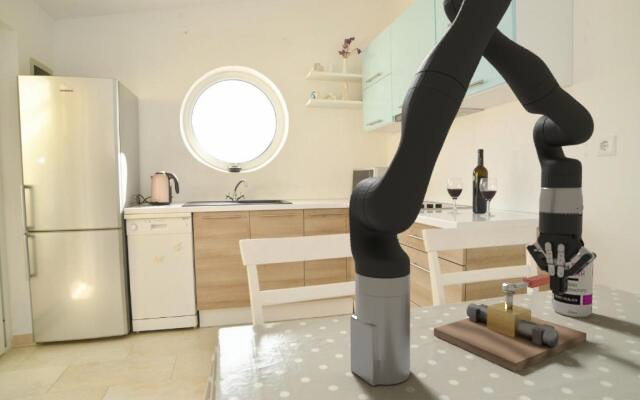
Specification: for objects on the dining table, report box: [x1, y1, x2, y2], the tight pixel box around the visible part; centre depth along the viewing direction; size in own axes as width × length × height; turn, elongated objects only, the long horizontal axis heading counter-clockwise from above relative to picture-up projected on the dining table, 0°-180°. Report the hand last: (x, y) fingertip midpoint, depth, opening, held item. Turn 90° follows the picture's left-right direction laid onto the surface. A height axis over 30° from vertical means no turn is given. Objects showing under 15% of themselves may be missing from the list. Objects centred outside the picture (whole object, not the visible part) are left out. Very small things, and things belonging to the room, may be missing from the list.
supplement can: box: [551, 252, 594, 318], centre depth 92 cm, size 8×8×15 cm
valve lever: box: [501, 274, 550, 295], centre depth 80 cm, size 15×3×2 cm, turn 121°
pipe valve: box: [466, 293, 559, 347], centre depth 77 cm, size 6×18×9 cm, turn 31°
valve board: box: [433, 315, 587, 373], centre depth 77 cm, size 24×18×2 cm
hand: (558, 293), depth 77 cm, fingers closed
